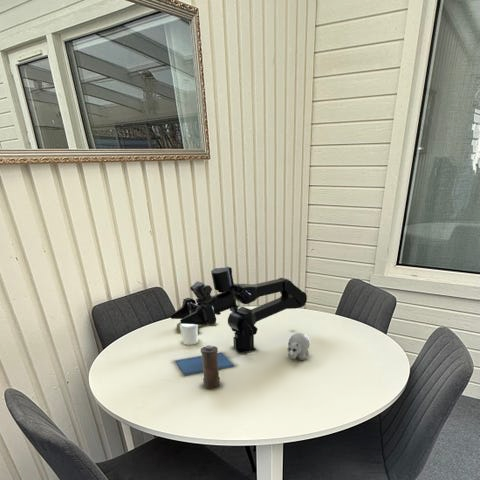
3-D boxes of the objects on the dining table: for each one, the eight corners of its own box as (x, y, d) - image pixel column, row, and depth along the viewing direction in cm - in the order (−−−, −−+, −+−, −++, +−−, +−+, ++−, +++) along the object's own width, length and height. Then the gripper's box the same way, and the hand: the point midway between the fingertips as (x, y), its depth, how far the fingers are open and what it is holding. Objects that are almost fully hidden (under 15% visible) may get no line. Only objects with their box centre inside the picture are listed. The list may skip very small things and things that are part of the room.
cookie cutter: (194, 335, 164) (194, 331, 163) (171, 331, 169) (170, 326, 168) (219, 323, 177) (219, 318, 176) (197, 319, 182) (196, 314, 181)
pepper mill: (216, 380, 128) (214, 342, 122) (222, 387, 124) (219, 348, 118) (201, 383, 127) (198, 345, 120) (206, 390, 123) (203, 351, 116)
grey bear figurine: (279, 364, 137) (279, 340, 133) (292, 352, 146) (293, 328, 142) (299, 368, 134) (300, 343, 130) (311, 355, 143) (313, 331, 139)
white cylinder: (196, 345, 155) (194, 327, 151) (178, 344, 156) (176, 326, 152) (201, 339, 160) (199, 321, 157) (184, 338, 162) (182, 321, 158)
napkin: (221, 353, 148) (221, 352, 147) (234, 366, 137) (234, 365, 137) (175, 361, 143) (174, 360, 142) (184, 375, 132) (184, 374, 132)
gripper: (200, 276, 139) (158, 291, 135) (224, 281, 124) (178, 298, 120) (208, 308, 145) (168, 323, 140) (233, 317, 130) (189, 334, 125)
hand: (175, 319), depth 131 cm, fingers open, 9 cm apart
